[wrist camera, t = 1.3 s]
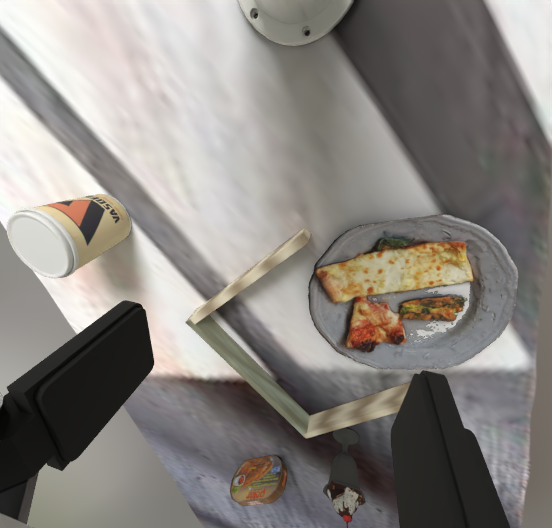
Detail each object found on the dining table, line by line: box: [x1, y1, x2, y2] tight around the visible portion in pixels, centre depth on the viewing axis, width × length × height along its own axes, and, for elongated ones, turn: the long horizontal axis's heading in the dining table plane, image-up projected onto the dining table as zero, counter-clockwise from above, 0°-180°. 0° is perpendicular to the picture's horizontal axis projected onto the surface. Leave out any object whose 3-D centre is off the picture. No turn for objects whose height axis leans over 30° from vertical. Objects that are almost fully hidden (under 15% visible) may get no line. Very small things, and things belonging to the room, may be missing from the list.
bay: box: [186, 227, 411, 438], centre depth 45 cm, size 25×31×4 cm
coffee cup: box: [7, 194, 131, 278], centre depth 40 cm, size 9×9×12 cm
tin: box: [230, 455, 287, 506], centre depth 63 cm, size 15×3×8 cm, turn 128°
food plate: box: [308, 214, 519, 369], centre depth 38 cm, size 25×23×4 cm
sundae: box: [323, 428, 365, 528], centre depth 48 cm, size 7×7×15 cm
